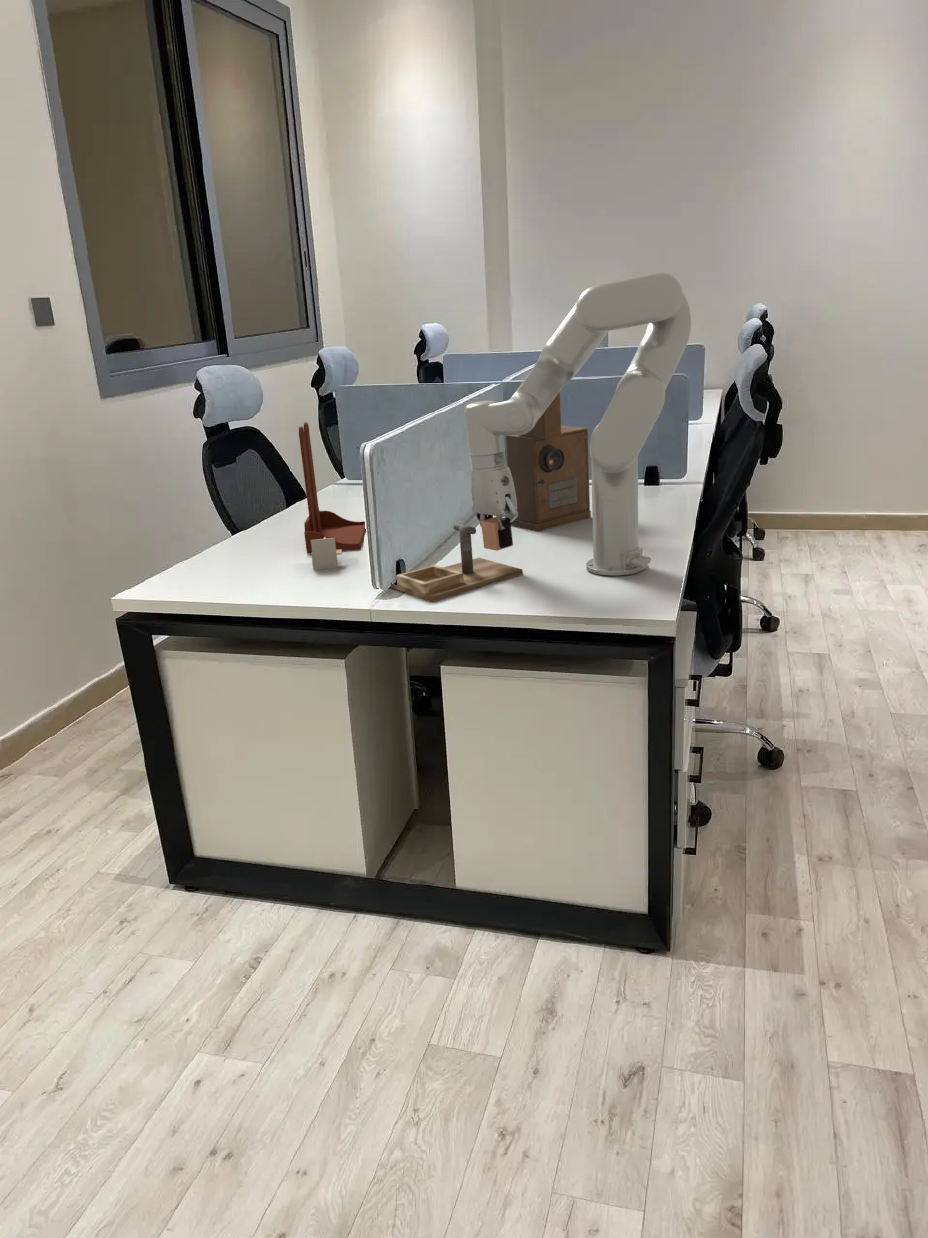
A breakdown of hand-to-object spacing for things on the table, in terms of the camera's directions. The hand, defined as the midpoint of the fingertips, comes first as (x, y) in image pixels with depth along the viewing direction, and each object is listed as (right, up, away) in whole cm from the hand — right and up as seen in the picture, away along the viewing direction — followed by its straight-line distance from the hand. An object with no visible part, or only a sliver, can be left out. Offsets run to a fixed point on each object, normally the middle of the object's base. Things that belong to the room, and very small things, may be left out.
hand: (498, 544), depth 202 cm
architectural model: (-40, -5, +15) cm, 43 cm away
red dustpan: (-40, +4, +40) cm, 56 cm away
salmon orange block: (0, -1, 0) cm, 1 cm away
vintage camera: (+15, +9, +41) cm, 44 cm away
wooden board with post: (-9, -8, -3) cm, 13 cm away
